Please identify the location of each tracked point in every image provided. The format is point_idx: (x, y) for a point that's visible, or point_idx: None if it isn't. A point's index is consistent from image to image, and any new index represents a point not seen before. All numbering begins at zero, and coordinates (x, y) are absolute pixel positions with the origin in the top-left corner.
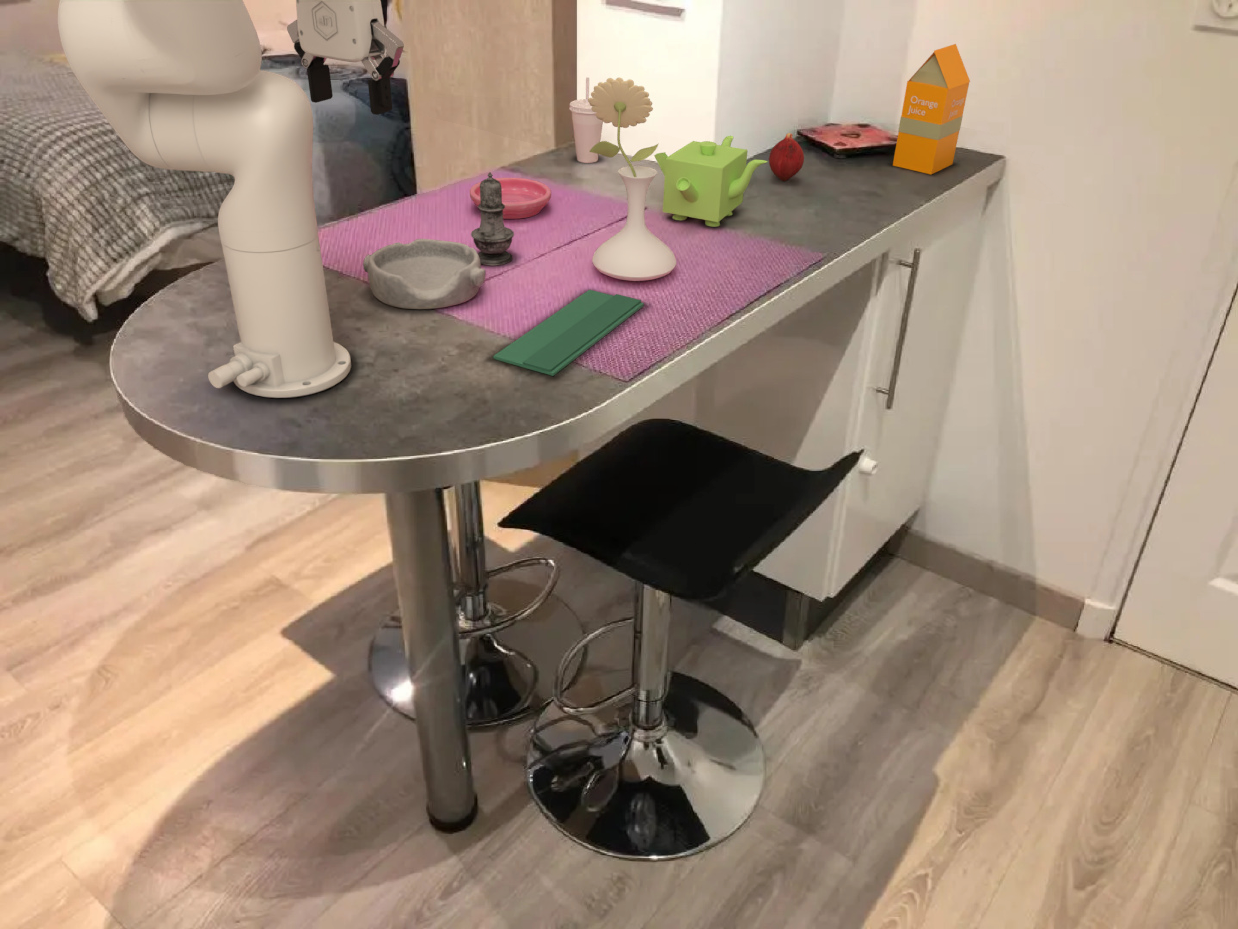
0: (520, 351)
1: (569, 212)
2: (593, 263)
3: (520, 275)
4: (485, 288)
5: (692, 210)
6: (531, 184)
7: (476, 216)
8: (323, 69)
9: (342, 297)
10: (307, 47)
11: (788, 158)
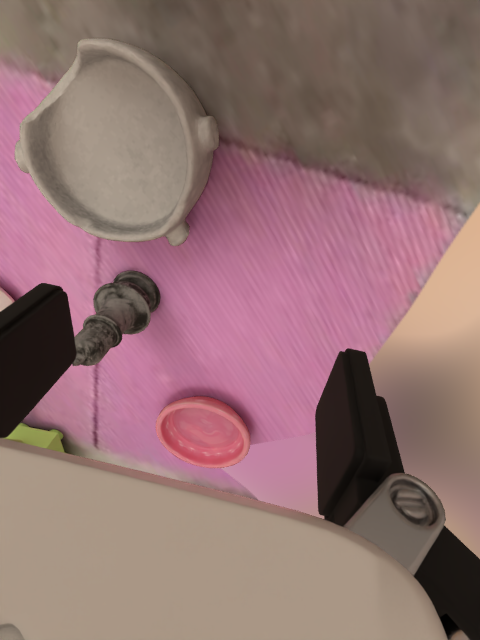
0: None
1: (149, 425)
2: (2, 292)
3: (76, 256)
4: None
5: (23, 432)
6: (197, 459)
7: (230, 395)
8: (328, 489)
9: (238, 61)
10: (332, 575)
11: None
